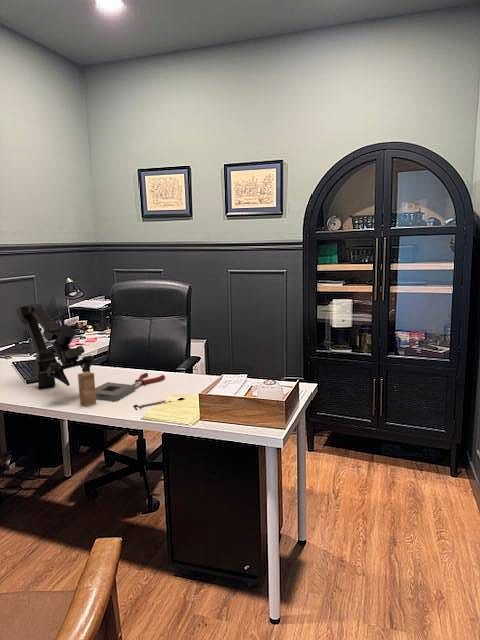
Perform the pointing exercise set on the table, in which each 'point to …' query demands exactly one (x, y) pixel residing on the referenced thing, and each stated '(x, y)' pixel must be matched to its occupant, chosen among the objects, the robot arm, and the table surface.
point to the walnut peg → (87, 388)
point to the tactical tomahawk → (148, 405)
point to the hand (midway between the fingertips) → (79, 382)
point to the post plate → (113, 391)
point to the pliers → (148, 381)
